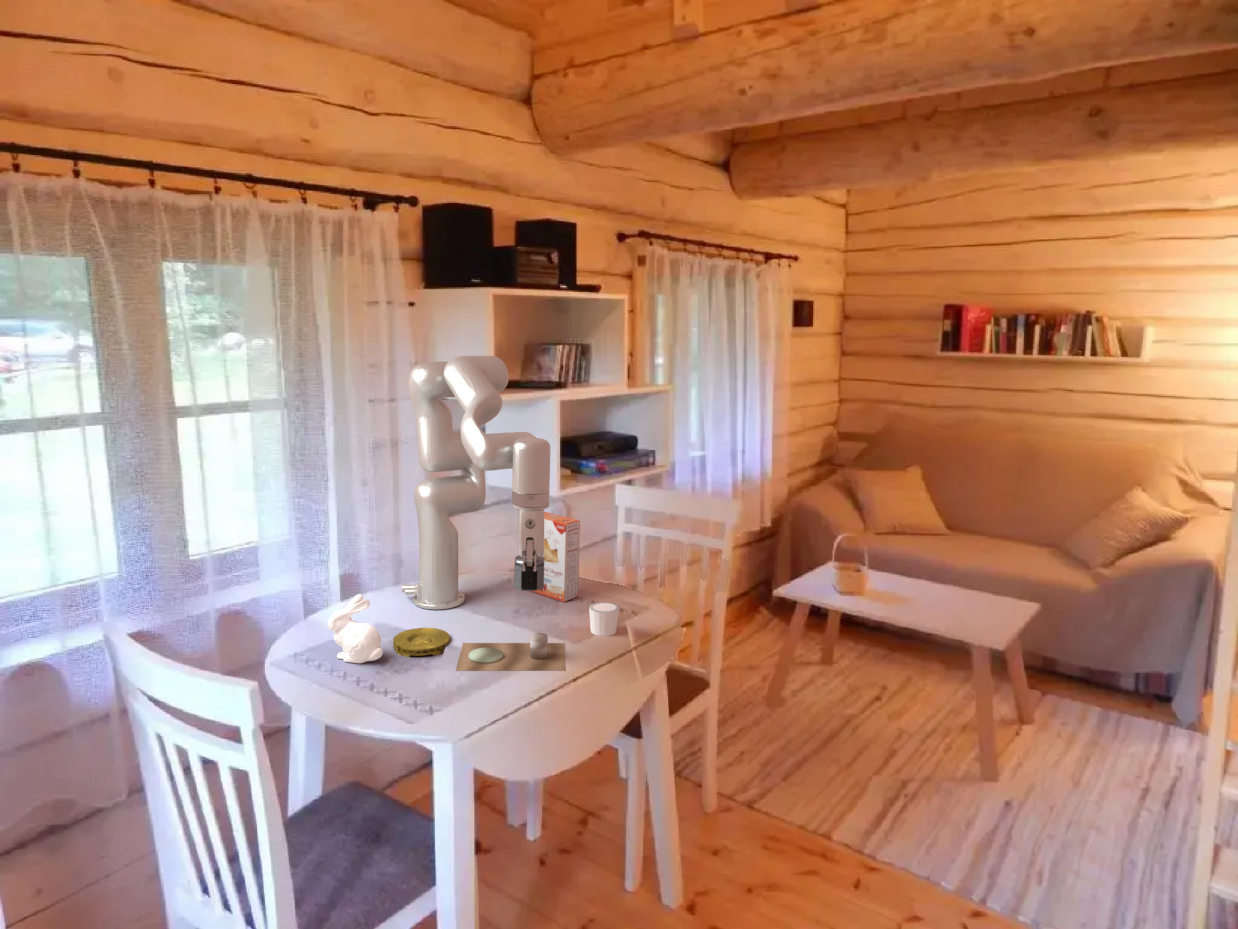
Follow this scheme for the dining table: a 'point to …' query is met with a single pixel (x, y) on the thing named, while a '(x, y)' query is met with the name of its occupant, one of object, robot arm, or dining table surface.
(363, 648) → the rabbit
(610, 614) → the white cup
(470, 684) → the dining table surface
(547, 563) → the cracker box
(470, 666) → the board
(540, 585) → the grey faceted cylinder
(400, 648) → the brake disc
